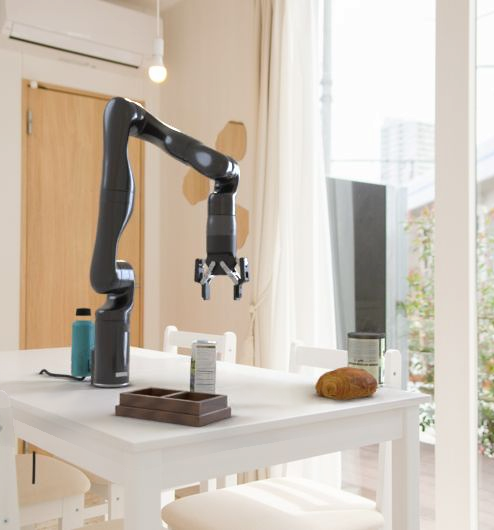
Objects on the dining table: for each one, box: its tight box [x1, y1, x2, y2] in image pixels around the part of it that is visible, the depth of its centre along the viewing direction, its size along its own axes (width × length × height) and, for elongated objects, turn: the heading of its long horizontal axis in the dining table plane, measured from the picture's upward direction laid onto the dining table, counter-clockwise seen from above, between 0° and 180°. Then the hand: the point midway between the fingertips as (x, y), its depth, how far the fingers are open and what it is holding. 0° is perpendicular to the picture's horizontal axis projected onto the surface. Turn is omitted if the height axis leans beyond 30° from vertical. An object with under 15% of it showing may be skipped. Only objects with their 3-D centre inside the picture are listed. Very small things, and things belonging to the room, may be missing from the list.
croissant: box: [315, 366, 378, 401], centre depth 173 cm, size 14×16×8 cm
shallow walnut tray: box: [114, 386, 232, 428], centre depth 145 cm, size 21×12×4 cm, turn 61°
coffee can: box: [346, 331, 386, 388], centre depth 192 cm, size 10×10×14 cm
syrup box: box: [189, 339, 218, 394], centre depth 157 cm, size 6×6×14 cm
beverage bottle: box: [70, 307, 95, 378], centre depth 192 cm, size 6×7×20 cm
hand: (221, 300), depth 172 cm, fingers open, 8 cm apart
